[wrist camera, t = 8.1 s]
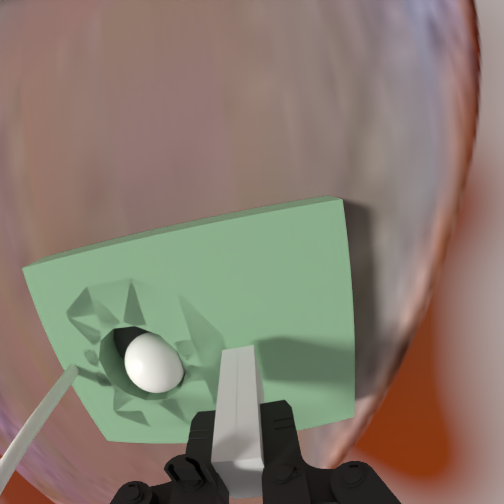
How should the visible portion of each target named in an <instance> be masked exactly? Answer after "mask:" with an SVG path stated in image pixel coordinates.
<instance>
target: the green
mask: <svg viewBox="0 0 504 504" xmlns="http://www.w3.org/2000/svg"><path fill="white" fill-rule="evenodd" d="M22 269H23V272H24V276H25V279H26V282H27V285H28V288H29V291H30V293H31V296H32V299H33V302H34V304H35V307H36V310H37V312H38V315H39V317H40V320H41V322H42V324H43V327H44V329H45V331H46V334H47V336H48V338H49V340H50V343H51V345H52V347H53V349H54V351H55V353H56V355H57V357H58V359H59V361H60V363H61V365H62V367H63V369H64V371H65V372H64V373H63V374H62V375H61V377H60V378H59V379H58V380H57V382H56V383H55V384H54V386H53V387H52V388H51V390H50V391H49V392H48V393H47V395H46V396H45V397H44V399H43V400H42V401H41V403H40V404H39V405H38V407H37V408H36V409H35V411H34V412H33V414H32V415H31V416H30V418H29V419H28V420H27V422H26V423H25V425H24V426H23V427H22V429H21V430H20V432H19V433H18V435H17V436H16V437H15V439H14V440H13V442H12V443H11V445H10V446H9V448H8V449H7V451H6V452H5V454H4V455H3V457H2V458H1V460H0V495H1V493H2V491H3V489H4V487H5V486H6V484H7V482H8V480H9V479H10V477H11V475H12V473H13V472H14V470H15V469H16V467H17V465H18V464H19V462H20V460H21V459H22V457H23V455H24V454H25V452H26V451H27V449H28V447H29V446H30V444H31V443H32V441H33V440H34V438H35V436H36V435H37V433H38V432H39V430H40V429H41V427H42V426H43V424H44V423H45V421H46V420H47V418H48V417H49V415H50V414H51V412H52V411H53V409H54V408H55V407H56V405H57V404H58V402H59V401H60V399H61V398H62V396H63V395H64V394H65V392H66V391H67V389H68V388H69V387H70V385H71V384H72V386H73V387H74V389H75V391H76V393H77V394H78V396H79V398H80V399H81V401H82V403H83V404H84V406H85V408H86V409H87V411H88V412H89V414H90V416H91V417H92V419H93V420H94V422H95V423H96V425H97V426H98V428H99V429H100V431H101V432H102V433H103V435H104V436H105V438H106V439H107V441H118V442H134V443H187V442H188V440H189V439H188V437H189V432H190V426H191V421H192V419H193V418H194V416H195V415H196V414H197V412H200V411H212V410H216V405H217V395H218V385H219V376H220V366H221V357H222V350H226V349H233V348H239V347H245V346H251V345H254V349H255V353H256V357H257V362H258V366H259V370H260V375H261V379H262V383H263V388H264V398H265V403H268V402H273V401H279V400H286V401H287V402H288V404H289V405H290V406H291V407H292V411H293V416H294V421H295V426H296V431H297V430H302V429H306V428H311V427H316V426H320V425H324V424H328V423H332V422H336V421H340V420H344V419H348V418H351V417H354V408H355V338H354V313H353V296H352V282H351V270H350V259H349V249H348V239H347V230H346V222H345V214H344V207H343V200H342V199H340V198H336V197H332V196H322V197H316V198H310V199H304V200H298V201H292V202H287V203H281V204H276V205H270V206H265V207H259V208H254V209H249V210H244V211H239V212H234V213H229V214H224V215H219V216H214V217H209V218H204V219H199V220H195V221H190V222H185V223H181V224H176V225H172V226H167V227H163V228H158V229H154V230H149V231H145V232H141V233H136V234H132V235H128V236H124V237H120V238H116V239H112V240H108V241H104V242H100V243H96V244H92V245H88V246H84V247H80V248H76V249H72V250H69V251H65V252H61V253H57V254H54V255H50V256H47V257H43V258H41V259H39V260H37V261H35V262H33V263H31V264H29V265H27V266H25V267H23V268H22ZM115 328H116V329H115ZM114 330H115V342H114V339H113V338H114ZM148 332H152V333H155V334H158V335H160V336H161V337H162V338H163V339H164V340H165V341H166V342H167V343H168V344H170V345H171V346H172V347H173V348H174V349H175V350H176V351H177V352H178V353H179V356H180V359H181V361H182V364H183V367H184V369H185V373H184V376H183V378H182V380H181V381H180V382H179V384H178V385H177V386H175V387H174V388H173V389H171V390H169V391H166V392H161V393H152V392H148V391H145V390H143V389H141V388H139V387H138V386H137V385H136V384H134V383H133V381H132V380H131V379H130V377H129V376H128V374H127V371H126V368H125V353H126V350H127V348H128V346H129V345H130V343H131V342H132V341H133V340H134V339H135V338H136V337H138V336H140V335H142V334H144V333H148ZM120 355H121V356H120Z"/></svg>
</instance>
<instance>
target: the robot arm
mask: <svg viewBox="0 0 504 504" xmlns="http://www.w3.org/2000/svg"><path fill="white" fill-rule="evenodd" d="M188 439H189V440H188V442H187V448H186V453H185V454H183V455H178V456H176V457H174V458H172V459H171V460H169V461H168V462H167V463H166V465H165V467H164V470H165V472H166V473H167V474H168V476H169V477H170V478H171V480H172V481H171V482H168V483H165V484H160V485H156V486H151V487H149V486H148V485H147V484H145V483H143V482H140V481H132V482H128V483H126V484H124V485H123V486H122V487H121V488H120V489H119V490H118V491H117V493H116V495H115V496H114V498H113V499H112V501H111V503H110V504H229V494H230V496H231V498H232V499H237V498H250V497H260V496H263V504H401V503H400V501H399V500H398V499H397V498H396V496H395V495H394V494H393V493H392V492H391V491H390V489H389V488H388V487H387V486H386V484H385V483H384V482H383V481H382V480H381V478H380V477H379V476H378V475H377V473H376V472H375V471H374V470H373V469H372V467H370V466H369V465H368V464H367V463H364V462H360V461H350V462H347V463H343V464H341V465H340V466H338V467H337V468H336V469H320V468H315V467H312V466H310V465H308V464H307V463H306V462H305V461H304V460H303V458H302V455H301V451H300V446H299V441H298V436H297V431H296V426H295V421H294V416H293V411H292V407H291V406H290V405H289V404H288V402H287V401H286V400H279V401H273V402H268V403H265V398H264V388H263V383H262V379H261V375H260V370H259V366H258V362H257V357H256V353H255V349H254V345H251V346H245V347H239V348H233V349H226V350H222V357H221V366H220V376H219V385H218V395H217V405H216V410H212V411H200V412H197V414H196V415H195V416H194V418H193V419H192V421H191V426H190V432H189V437H188Z"/></svg>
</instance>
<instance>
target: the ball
mask: <svg viewBox="0 0 504 504" xmlns="http://www.w3.org/2000/svg"><path fill="white" fill-rule="evenodd" d="M125 368H126V371H127V374H128V376H129V377H130V379H131V380H132V381H133V383H134V384H136V385H137V386H138V387H139V388H141V389H143V390H145V391H148V392H152V393H161V392H166V391H169V390H171V389H173V388H174V387H175V386H177V385H178V384H179V382H180V381H181V380H182V378H183V376H184V373H185V369H184V367H183V364H182V361H181V359H180V356H179V353H178V352H177V351H176V350H175V349H174V348H173V347H172V346H171V345H170V344H168V343H167V342H166V341H165V340H164V339H163V338H162V337H161V336H160V335H158V334H155V333H152V332H148V333H144V334H142V335H140V336H138V337H136V338H135V339H134V340H133V341H132V342H131V343H130V345H129V346H128V348H127V350H126V353H125Z"/></svg>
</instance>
